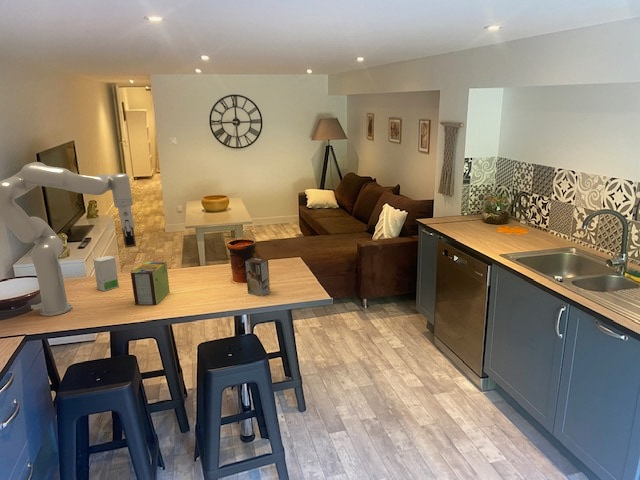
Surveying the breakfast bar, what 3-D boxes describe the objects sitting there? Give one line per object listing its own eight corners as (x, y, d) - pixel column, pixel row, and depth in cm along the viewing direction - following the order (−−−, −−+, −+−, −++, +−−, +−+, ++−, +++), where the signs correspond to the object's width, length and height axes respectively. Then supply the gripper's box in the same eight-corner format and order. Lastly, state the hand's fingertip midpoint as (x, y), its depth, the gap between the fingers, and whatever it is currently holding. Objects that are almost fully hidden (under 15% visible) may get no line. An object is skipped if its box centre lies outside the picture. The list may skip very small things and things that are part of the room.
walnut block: (125, 247, 208) (122, 230, 206) (124, 245, 212) (121, 228, 210) (136, 246, 210) (133, 228, 208) (135, 243, 214) (132, 226, 212)
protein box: (170, 292, 229) (166, 261, 225) (156, 305, 214) (152, 272, 210) (149, 292, 230) (145, 261, 226) (134, 304, 215) (129, 272, 211)
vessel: (225, 277, 247) (223, 240, 242) (252, 273, 253) (250, 237, 248) (232, 286, 235) (230, 247, 229) (260, 282, 241) (259, 243, 235)
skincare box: (103, 292, 231) (99, 261, 227) (96, 289, 235) (91, 259, 231) (119, 286, 238) (115, 256, 233) (112, 284, 241) (108, 254, 237)
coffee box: (270, 291, 227) (269, 259, 222) (263, 296, 221) (261, 263, 217) (254, 288, 231) (252, 257, 227) (246, 293, 226) (244, 261, 221)
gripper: (134, 204, 200) (140, 246, 205) (131, 198, 215) (137, 237, 220) (114, 207, 197) (122, 249, 202) (113, 200, 212) (119, 240, 217)
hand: (129, 242), depth 211 cm, fingers closed on walnut block, 4 cm apart
